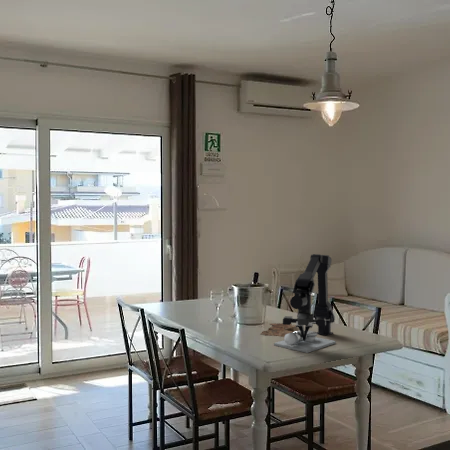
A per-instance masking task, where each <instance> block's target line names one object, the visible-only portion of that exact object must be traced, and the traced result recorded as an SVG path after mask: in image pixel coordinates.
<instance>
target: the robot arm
mask: <svg viewBox="0 0 450 450" xmlns="http://www.w3.org/2000/svg"><path fill="white" fill-rule="evenodd" d="M309 257H310V259H309V262H308V263H307V266H306V268H305V270H304V272H302V273H300V274H299V276H298V277H297V278H296V280H295V284H294V286H293V291H292V293H293V294H294V296H292V297H291V298H290V300H289V303H290V306H291V308H293V309H294V310H297V316H296V318H293V316H291V315H290V316H286V315H284V317H283V318H282V323H283V324H284V325H290V324H295V325H296V327H297V328H298V329H300V332H301V335H302V338H303V341H305V338H306V335H307V332H308V331H310V329H312V328H313V325H316V326H317V327H318V328H317V331H316V332H317V335H323V336H330V335H333V334H334V332H333V331H331V329H332V325H331V324H332V323H335V320H336V319H335V318H336V317H335V313H334V311H333V308H332V305H331V303H330V302H329V287H328V283H329V282H328V272H329V270H330V268H331V266H332V257H330V255H328V254H319V253H313V254H311V255H310V256H309ZM316 273H317V293H318V294H317V297H318V299H317V304H316V305H315V307H314V313H312V294H313V291H314V289H315V279H314V278H315V275H316ZM304 331H305V333H304Z"/></svg>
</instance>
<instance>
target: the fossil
mask: <svg viewBox="0 0 450 450" xmlns="http://www.w3.org/2000/svg"><path fill="white" fill-rule="evenodd" d="M269 325H270V326H271V327H269V328H268V329H267V330H262V331H261V332H260V335H262V336H267V337H270V336H272V337H280V338H281V337H283V338H284V337H285V335H286V334H289V333H292V332H296V331H299V330H300V329H299V328H298V327H296V324H293V323H291V324H290V325H284V324H283V322H282V323H279V322H278V323H269Z"/></svg>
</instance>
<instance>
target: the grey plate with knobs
mask: <svg viewBox="0 0 450 450" xmlns="http://www.w3.org/2000/svg"><path fill="white" fill-rule="evenodd" d="M283 339H284V340H280V341H277V342H274V343H273V346H275V347H280V348H283V349H284V348H285V349H289V350H293V351H297V352H302V353H306V354H308V353H310V352H314V351H317V350H319V349H323V348H326V347H328V346H329V347H330V346H332V345H335V344H337V341H335V340H331V339H327V338H322V337H317V336H311V337H309V336H307V339H306V340H305V341H302V342H299V343H296V342H297V336H296V334H295V333H289V334H286V335H285V337H283Z"/></svg>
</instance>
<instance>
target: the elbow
mask: <svg viewBox="0 0 450 450" xmlns="http://www.w3.org/2000/svg"><path fill="white" fill-rule="evenodd" d="M317 332H318V331H314V330H308V332H307V335H306V338H305V340H306V339H307V336H309V337H311V336H315V337H317V335H318V334H317ZM292 333H295V334H296V336H297V342H296V343H299V342H302V341H303V338H302V335H301V332H300V330H299V331H296V332H292ZM304 333H305V330H304Z"/></svg>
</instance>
